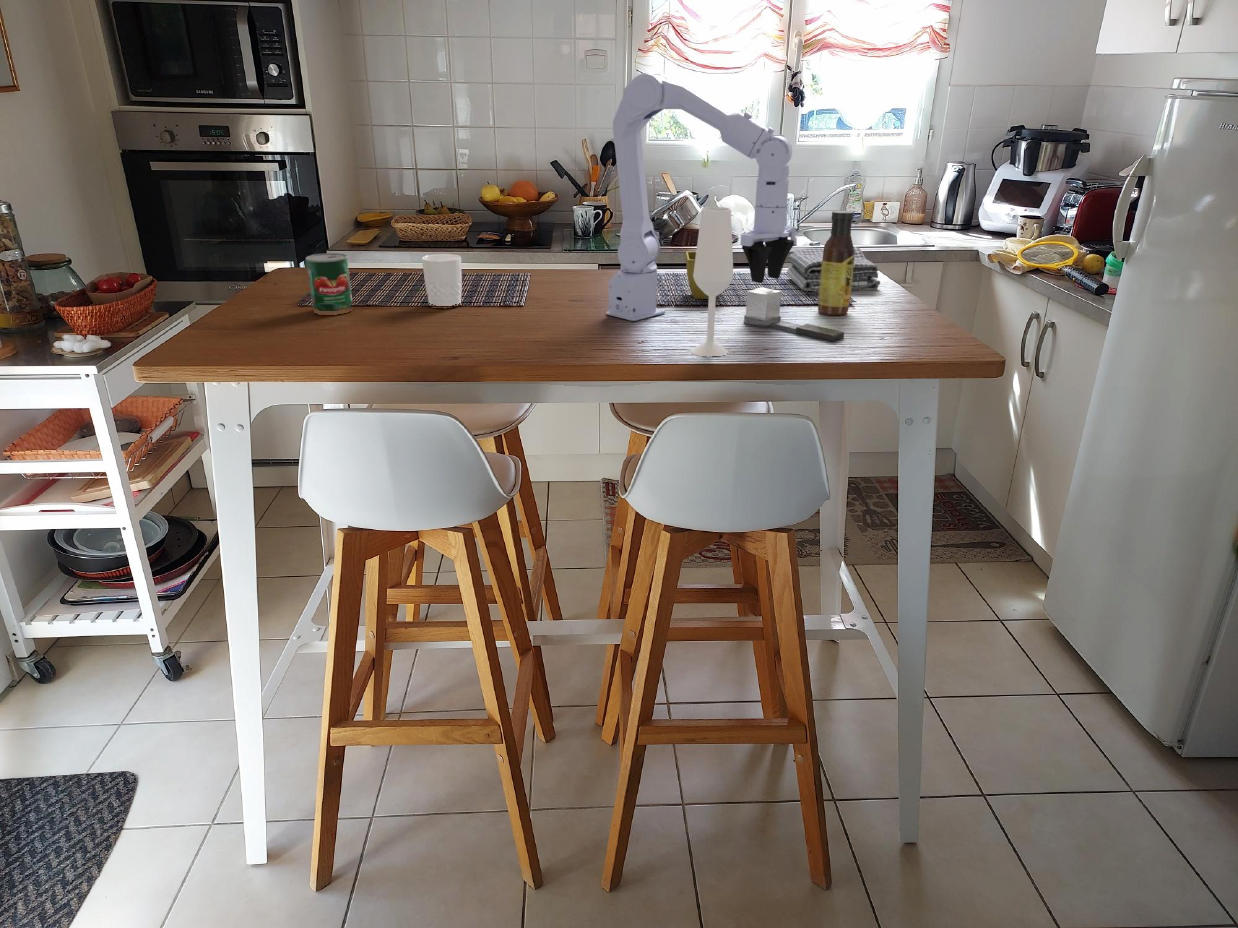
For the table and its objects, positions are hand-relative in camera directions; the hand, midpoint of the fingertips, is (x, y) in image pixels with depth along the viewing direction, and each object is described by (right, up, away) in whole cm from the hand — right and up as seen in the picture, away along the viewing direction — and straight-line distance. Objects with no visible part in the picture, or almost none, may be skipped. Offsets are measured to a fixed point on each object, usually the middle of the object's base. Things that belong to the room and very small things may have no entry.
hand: (765, 280), depth 161 cm
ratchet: (+5, -10, -1) cm, 11 cm away
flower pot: (-9, +1, +24) cm, 25 cm away
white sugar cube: (0, -7, +3) cm, 7 cm away
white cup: (-64, -2, +16) cm, 66 cm away
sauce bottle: (+16, -4, +11) cm, 20 cm away
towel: (+21, +6, +35) cm, 41 cm away
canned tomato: (-86, -4, +12) cm, 87 cm away
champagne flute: (-12, -16, -14) cm, 24 cm away
